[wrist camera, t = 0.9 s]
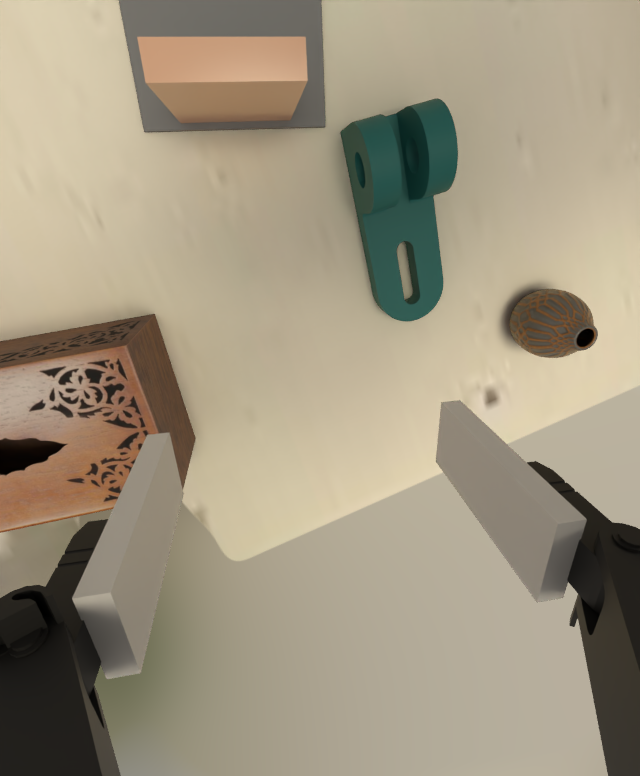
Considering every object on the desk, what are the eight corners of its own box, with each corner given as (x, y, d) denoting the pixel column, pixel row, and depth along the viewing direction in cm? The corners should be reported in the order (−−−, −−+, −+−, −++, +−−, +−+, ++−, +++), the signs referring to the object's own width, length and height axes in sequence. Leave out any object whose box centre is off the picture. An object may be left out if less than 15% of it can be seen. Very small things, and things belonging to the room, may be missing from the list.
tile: (288, 89, 33) (305, 33, 22) (290, 120, 34) (307, 80, 23) (175, 91, 32) (136, 33, 21) (180, 123, 33) (145, 83, 22)
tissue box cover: (155, 313, 39) (126, 345, 30) (195, 437, 46) (181, 494, 37) (-124, 362, 38) (-243, 412, 29) (-43, 485, 44) (-119, 557, 35)
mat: (316, -121, 29) (317, -125, 28) (324, 127, 35) (325, 126, 35) (94, -131, 27) (92, -136, 27) (145, 132, 33) (144, 131, 33)
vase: (566, 317, 46) (630, 340, 38) (515, 356, 47) (568, 386, 39) (541, 270, 43) (605, 285, 36) (488, 312, 45) (539, 335, 37)
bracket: (339, 132, 36) (361, 114, 28) (412, 111, 36) (452, 88, 29) (378, 323, 43) (402, 346, 36) (437, 305, 44) (473, 325, 36)
